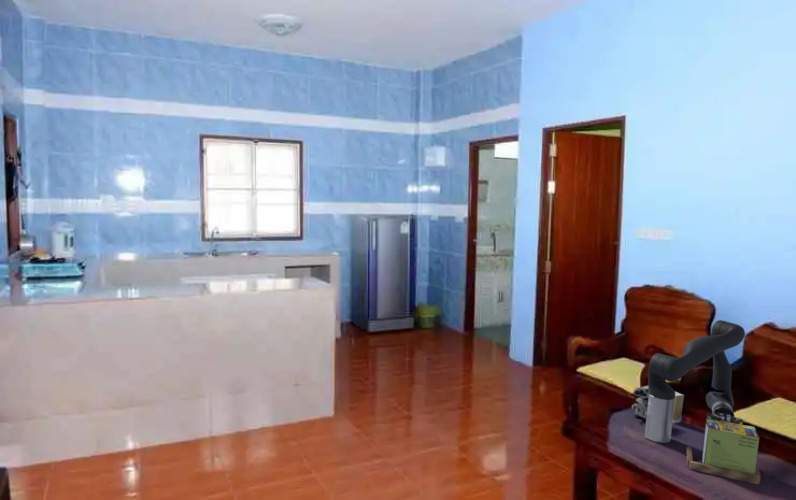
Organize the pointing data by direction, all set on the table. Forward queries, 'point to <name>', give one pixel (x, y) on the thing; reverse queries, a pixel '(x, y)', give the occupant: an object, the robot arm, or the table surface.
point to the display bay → (722, 470)
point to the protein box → (730, 446)
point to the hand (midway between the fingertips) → (726, 427)
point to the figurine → (641, 402)
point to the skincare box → (677, 407)
